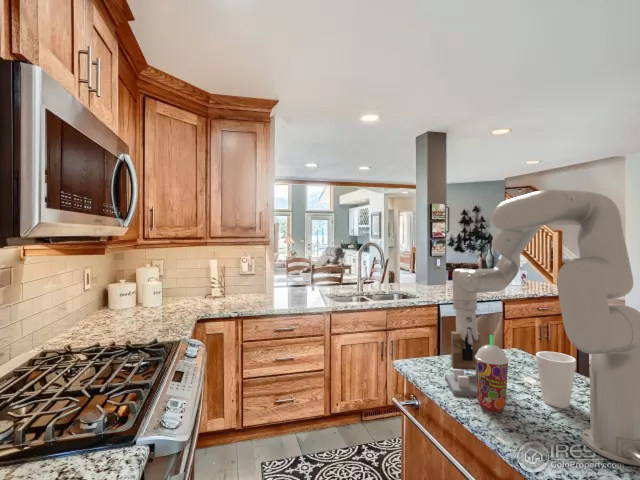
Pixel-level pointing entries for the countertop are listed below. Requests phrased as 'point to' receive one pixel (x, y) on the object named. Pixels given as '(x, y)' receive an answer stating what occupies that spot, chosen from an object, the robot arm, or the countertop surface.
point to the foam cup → (556, 377)
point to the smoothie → (491, 377)
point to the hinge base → (462, 383)
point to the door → (457, 352)
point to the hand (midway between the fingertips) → (466, 358)
